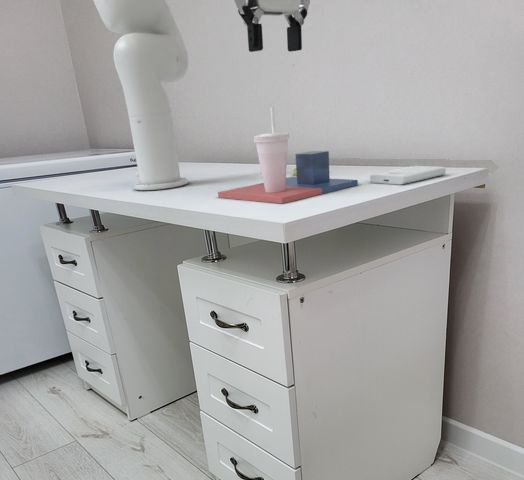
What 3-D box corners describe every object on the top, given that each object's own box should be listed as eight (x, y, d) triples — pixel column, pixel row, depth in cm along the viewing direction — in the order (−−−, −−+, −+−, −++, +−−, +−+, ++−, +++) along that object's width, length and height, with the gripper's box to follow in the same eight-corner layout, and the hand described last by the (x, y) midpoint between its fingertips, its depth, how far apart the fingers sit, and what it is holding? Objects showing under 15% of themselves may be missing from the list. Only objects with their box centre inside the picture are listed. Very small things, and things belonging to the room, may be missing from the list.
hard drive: (445, 175, 105) (403, 185, 99) (411, 173, 111) (369, 182, 105) (445, 166, 104) (403, 175, 98) (411, 165, 110) (369, 173, 104)
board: (218, 197, 104) (217, 192, 104) (292, 181, 116) (291, 176, 115) (282, 203, 92) (281, 197, 91) (357, 185, 103) (357, 179, 103)
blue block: (297, 183, 105) (295, 154, 103) (312, 180, 108) (311, 151, 105) (313, 184, 102) (312, 154, 100) (329, 181, 104) (328, 151, 102)
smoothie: (281, 193, 95) (275, 107, 89) (251, 193, 98) (243, 110, 93) (298, 187, 100) (294, 105, 94) (269, 187, 103) (263, 108, 97)
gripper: (291, -54, 98) (294, 52, 106) (216, -66, 88) (226, 53, 96) (322, -64, 93) (323, 48, 101) (246, -78, 83) (253, 49, 91)
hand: (275, 50), depth 98 cm, fingers open, 9 cm apart
